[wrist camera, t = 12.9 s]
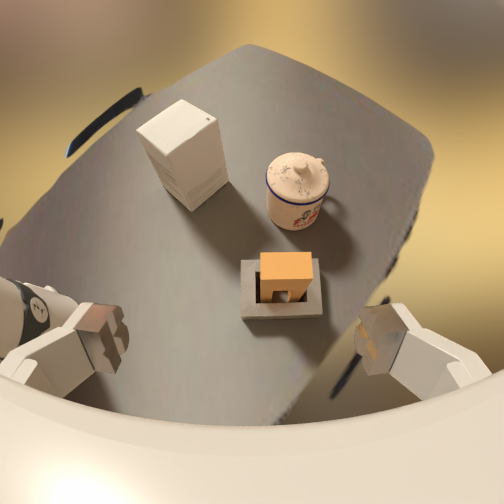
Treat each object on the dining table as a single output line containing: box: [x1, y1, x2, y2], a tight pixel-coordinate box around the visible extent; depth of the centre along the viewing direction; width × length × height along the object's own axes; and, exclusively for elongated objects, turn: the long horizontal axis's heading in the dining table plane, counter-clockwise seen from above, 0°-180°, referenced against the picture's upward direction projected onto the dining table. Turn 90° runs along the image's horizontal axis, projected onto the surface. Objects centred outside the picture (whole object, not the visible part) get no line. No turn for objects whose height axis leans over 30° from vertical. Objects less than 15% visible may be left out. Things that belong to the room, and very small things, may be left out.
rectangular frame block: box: [241, 258, 323, 320], centre depth 39 cm, size 8×11×3 cm
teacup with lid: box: [266, 153, 330, 230], centre depth 41 cm, size 12×9×12 cm
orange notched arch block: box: [260, 252, 313, 303], centre depth 35 cm, size 6×3×12 cm, turn 90°
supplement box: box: [136, 99, 229, 212], centre depth 41 cm, size 9×9×15 cm
